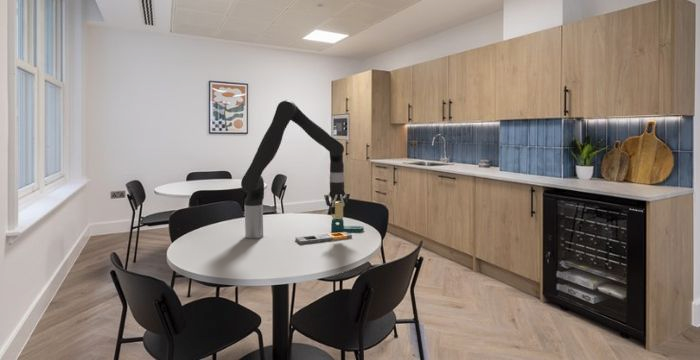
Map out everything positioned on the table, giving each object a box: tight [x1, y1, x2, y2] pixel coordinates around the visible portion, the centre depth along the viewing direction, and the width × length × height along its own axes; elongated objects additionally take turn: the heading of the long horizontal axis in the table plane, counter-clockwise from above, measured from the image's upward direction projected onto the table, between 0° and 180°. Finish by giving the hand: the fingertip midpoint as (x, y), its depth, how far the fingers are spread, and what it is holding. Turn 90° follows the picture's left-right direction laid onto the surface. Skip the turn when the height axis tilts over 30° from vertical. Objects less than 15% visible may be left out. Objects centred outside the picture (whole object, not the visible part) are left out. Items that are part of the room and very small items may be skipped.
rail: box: [294, 232, 353, 245], centre depth 202 cm, size 8×28×2 cm, turn 116°
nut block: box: [331, 201, 344, 219], centre depth 204 cm, size 4×4×8 cm
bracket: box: [330, 218, 365, 233], centre depth 220 cm, size 18×7×8 cm, turn 91°
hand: (337, 213), depth 204 cm, fingers closed on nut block, 4 cm apart
